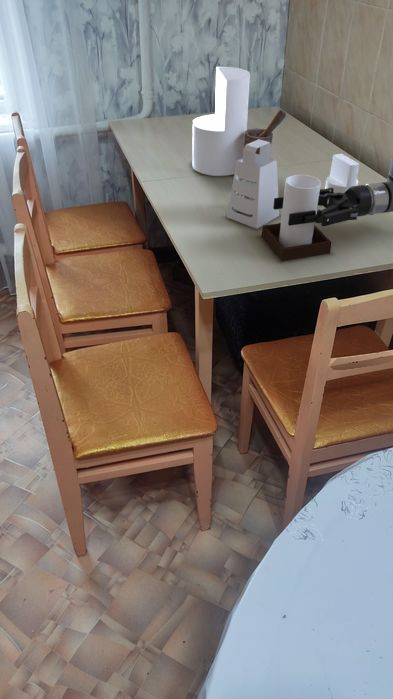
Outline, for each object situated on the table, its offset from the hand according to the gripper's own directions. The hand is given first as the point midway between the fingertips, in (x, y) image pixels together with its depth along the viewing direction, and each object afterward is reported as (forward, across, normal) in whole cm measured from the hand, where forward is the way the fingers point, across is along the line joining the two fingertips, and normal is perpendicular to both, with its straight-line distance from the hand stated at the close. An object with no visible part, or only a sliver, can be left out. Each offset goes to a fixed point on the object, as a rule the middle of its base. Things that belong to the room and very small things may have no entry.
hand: (281, 211), depth 131 cm
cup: (-5, 0, -9) cm, 10 cm away
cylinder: (-3, +56, -10) cm, 58 cm away
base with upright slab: (-29, +21, -10) cm, 37 cm away
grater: (0, +18, -10) cm, 21 cm away
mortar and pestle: (-14, +46, -10) cm, 49 cm away
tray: (-5, 0, -10) cm, 11 cm away
